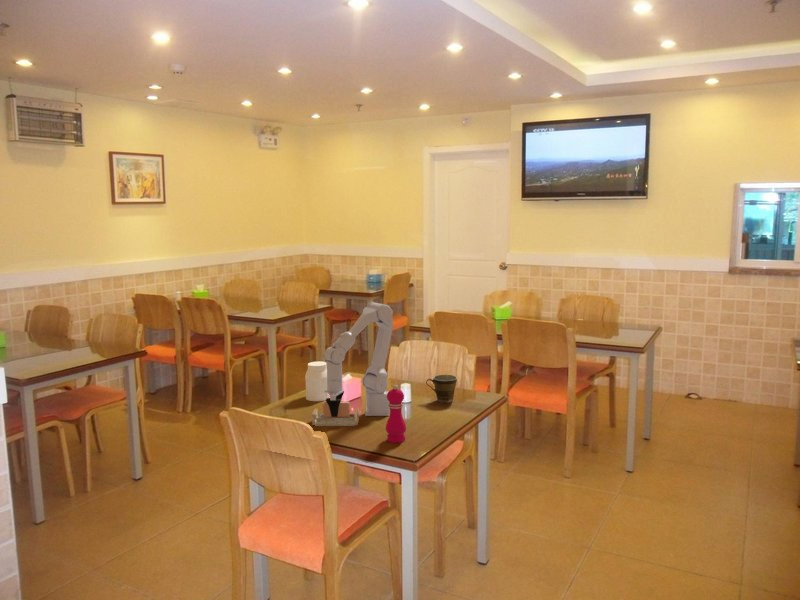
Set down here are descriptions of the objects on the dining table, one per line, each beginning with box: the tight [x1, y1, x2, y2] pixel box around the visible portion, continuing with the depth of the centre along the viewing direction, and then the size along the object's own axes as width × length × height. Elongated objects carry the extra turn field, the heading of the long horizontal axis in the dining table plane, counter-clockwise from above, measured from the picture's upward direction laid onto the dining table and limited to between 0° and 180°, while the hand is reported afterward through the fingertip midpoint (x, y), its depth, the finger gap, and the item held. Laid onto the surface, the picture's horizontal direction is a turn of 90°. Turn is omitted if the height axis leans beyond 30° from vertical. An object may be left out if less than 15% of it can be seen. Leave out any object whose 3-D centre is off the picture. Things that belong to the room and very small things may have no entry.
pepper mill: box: [385, 384, 407, 444], centre depth 228 cm, size 7×7×20 cm
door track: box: [311, 407, 360, 427], centre depth 248 cm, size 17×8×4 cm, turn 89°
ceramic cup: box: [425, 374, 458, 404], centre depth 274 cm, size 13×10×10 cm
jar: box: [304, 360, 330, 402], centre depth 281 cm, size 12×10×15 cm
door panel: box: [322, 400, 351, 418], centre depth 248 cm, size 10×2×7 cm, turn 89°
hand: (335, 413), depth 248 cm, fingers open, 7 cm apart
